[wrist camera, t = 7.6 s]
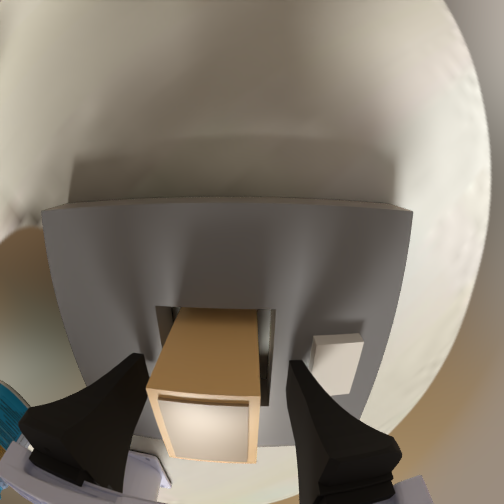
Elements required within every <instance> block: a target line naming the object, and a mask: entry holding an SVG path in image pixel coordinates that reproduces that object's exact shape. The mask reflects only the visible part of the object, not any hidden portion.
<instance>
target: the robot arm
mask: <svg viewBox="0 0 504 504" xmlns="http://www.w3.org/2000/svg"><path fill="white" fill-rule="evenodd" d="M149 379H150V377H149V374H148V370H147V366H146V362H145V358H144V354H140V353H132V354H130V355H129V356H128V357H127V358H125V359H124V360H123V361H122V362H120V363H119V364H118V365H117V366H116V367H114V368H113V369H112V370H110V371H109V372H108V373H107V374H105V375H104V376H102V377H101V378H100V379H98V380H97V381H95V382H94V383H92V384H91V385H89V386H88V387H86V388H84V389H82V390H80V391H79V392H77V393H75V394H72V395H70V396H68V397H66V398H63V399H60V400H58V401H55V402H52V403H48V404H45V405H40V406H35V407H29V408H28V410H27V411H26V412H25V414H24V415H23V417H22V418H21V420H20V421H19V422H18V426H19V429H20V431H21V432H22V434H23V435H24V437H25V438H26V439H27V440H28V442H29V443H30V444H31V445H32V447H33V448H34V450H33V452H31V451H29V450H28V449H27V448H25V447H23V446H22V445H20V444H18V443H16V442H15V441H12V443H11V444H10V446H9V447H8V449H7V451H6V452H5V454H4V455H3V457H2V459H1V460H0V477H1V478H2V479H3V480H4V481H5V482H6V483H7V484H8V485H9V486H11V487H12V488H13V489H14V490H15V491H17V492H18V493H19V494H20V495H22V496H23V497H24V498H26V499H27V500H29V501H31V502H32V503H34V504H166V503H161V502H157V497H158V493H159V488H160V487H164V488H171V487H172V485H171V483H170V481H169V480H168V478H167V476H166V474H165V472H164V470H163V468H162V466H161V464H160V462H159V460H158V458H157V457H156V456H153V455H149V454H144V453H139V452H134V451H130V450H129V448H130V444H131V440H132V436H133V433H134V430H135V428H136V425H137V423H138V420H139V418H140V415H141V413H142V410H143V408H144V405H145V403H146V400H147V397H148V394H147V390H146V386H147V383H148V381H149ZM286 400H287V408H288V413H289V418H290V422H291V427H292V431H293V436H294V440H295V446H296V455H297V466H298V479H299V500H300V504H434V503H433V501H432V498H431V496H430V494H429V491H428V489H427V487H426V484H425V482H424V480H423V478H422V475H418V476H415V477H412V478H410V479H407V480H404V481H401V482H399V483H397V484H395V485H393V484H392V482H391V480H392V479H393V475H392V470H393V469H394V468H395V467H396V465H397V464H398V463H399V461H400V459H401V458H402V453H401V450H400V448H399V446H398V444H397V442H396V441H395V439H394V438H393V437H392V436H389V435H387V434H385V433H382V432H380V431H378V430H375V429H374V428H372V427H370V426H368V425H366V424H365V423H363V422H361V421H360V420H358V419H357V418H355V417H354V416H352V415H351V414H350V413H348V412H347V411H346V410H345V409H343V408H342V407H341V406H340V405H339V404H338V403H337V402H336V401H335V400H334V399H333V398H332V397H331V396H330V395H329V394H328V393H327V392H326V391H325V390H324V389H323V387H322V386H321V385H320V384H319V383H318V381H317V380H316V379H315V378H314V376H313V375H312V373H311V372H310V371H309V369H308V368H307V366H306V365H305V363H304V362H303V361H302V360H289V366H288V375H287V383H286Z"/></svg>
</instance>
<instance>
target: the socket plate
mask: <svg viewBox="0 0 504 504" xmlns="http://www.w3.org/2000/svg"><path fill="white" fill-rule="evenodd" d="M41 214H42V223H43V231H44V238H45V245H46V251H47V257H48V262H49V267H50V273H51V277H52V282H53V286H54V290H55V295H56V298H57V303H58V306H59V310H60V313H61V317H62V320H63V323H64V327H65V330H66V333H67V336H68V339H69V342H70V345H71V348H72V351H73V353H74V356H75V359H76V362H77V364H78V367H79V369H80V372H81V374H82V377H83V379H84V381H85V384H86V386H87V387H88V386H89V385H91V384H92V383H94V382H95V381H97V380H98V379H100V378H101V377H102V376H104V375H105V374H107V373H108V372H109V371H110V370H112V369H113V368H114V367H116V366H117V365H118V364H119V363H120V362H122V361H123V360H124V359H125V358H127V357H128V356H129V355H130V354H132V353H140V354H144V358H145V362H146V366H147V370H148V374H149V377H150V376H151V374H152V372H153V369H154V367H155V365H156V362H157V360H158V358H159V355H160V353H161V351H162V348H163V346H164V344H165V342H166V339H167V337H168V335H169V333H170V330H171V328H172V326H173V318H172V310H171V307H191V308H219V309H271V319H270V338H269V355H268V371H267V379H260V393H261V398H260V414H259V429H258V443H257V447H276V446H294V445H295V440H294V436H293V431H292V427H291V422H290V418H289V413H288V408H287V400H286V383H287V375H288V366H289V360H302V361H303V362H304V363H305V365H306V366H307V368H308V369H309V371H310V372H311V373H312V375H313V376H314V378H315V379H316V380H317V381H318V383H319V384H320V385H321V386H322V387H323V389H324V390H325V391H326V392H327V393H328V394H329V395H330V396H331V397H332V398H333V399H334V400H335V401H336V402H337V403H338V404H339V405H340V406H341V407H342V408H343V409H345V410H346V411H347V412H348V413H350V414H351V415H352V416H354V417H355V418H357V419H358V420H359V419H360V417H361V415H362V412H363V410H364V407H365V405H366V402H367V400H368V397H369V395H370V392H371V390H372V387H373V384H374V381H375V379H376V376H377V373H378V370H379V367H380V364H381V361H382V358H383V355H384V352H385V348H386V345H387V342H388V338H389V335H390V331H391V328H392V324H393V320H394V316H395V312H396V308H397V304H398V300H399V295H400V291H401V286H402V281H403V276H404V271H405V266H406V260H407V254H408V248H409V241H410V234H411V226H412V218H413V211H411V210H407V209H404V208H401V207H398V206H395V205H392V204H387V203H375V202H362V201H347V200H331V199H311V198H284V197H165V198H140V199H120V200H104V201H90V202H78V203H67V204H63V205H60V206H56V207H53V208H49V209H46V210H42V211H41ZM133 434H134V435H139V436H144V437H149V438H155V439H161V440H163V438H162V436H161V433H160V430H159V427H158V425H157V422H156V419H155V416H154V413H153V410H152V407H151V404H150V400H149V397H147V400H146V403H145V405H144V408H143V410H142V413H141V415H140V418H139V420H138V423H137V425H136V428H135V430H134V433H133Z"/></svg>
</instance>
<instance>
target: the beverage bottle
mask: <svg viewBox="0 0 504 504" xmlns="http://www.w3.org/2000/svg"><path fill="white" fill-rule="evenodd" d="M29 407H30V405H29V404H28V403H27V402H26V401H25V400H24V399H23V397H21V396H20V394H19V393H17V392H16V391H15V390H14V389H13V388H12V387H11V386H9V385H8V384H6V383H5V382H3V381H1V380H0V460H1V459H2V457H3V455H4V454H5V452H6V451H7V449H8V447H9V446H10V444H11V443H12V441H15V442H16V443H18V444H20V445H22V446H23V447H25V448H28V446H29V445H30V443H29V442H28V440H27V439H26V438H25V437H24V435H23V434H22V432H21V431H20V429H19V426H18V422H19V421H20V420H21V418H22V417H23V415H24V414H25V412H26V411H27V410H28V408H29ZM8 486H9V485H8V484H7V483H6V482H5V481H4V480H3V479H2V478H1V477H0V493H1V490H3V489H5V488H7V487H8ZM0 499H1V495H0Z"/></svg>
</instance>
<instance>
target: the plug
mask: <svg viewBox="0 0 504 504" xmlns="http://www.w3.org/2000/svg"><path fill="white" fill-rule="evenodd" d="M146 390H147V394H148V397H149V400H150V404H151V407H152V410H153V413H154V416H155V419H156V422H157V425H158V427H159V430H160V433H161V436H162V438H163V441H164V444H165V446H166V449H167V451H168V454H169V456H170V457H173V458H180V459H188V460H197V461H207V462H221V463H256V457H257V443H258V429H259V414H260V398H261V393H260V371H259V348H258V326H257V309H219V308H191V307H181V308H180V311H179V313H178V315H177V317H176V319H175V322H174V324H173V326H172V328H171V330H170V333H169V335H168V337H167V339H166V342H165V344H164V346H163V348H162V351H161V353H160V355H159V358H158V360H157V362H156V365H155V367H154V369H153V372H152V374H151V376H150V379H149V381H148V383H147V386H146Z"/></svg>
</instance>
